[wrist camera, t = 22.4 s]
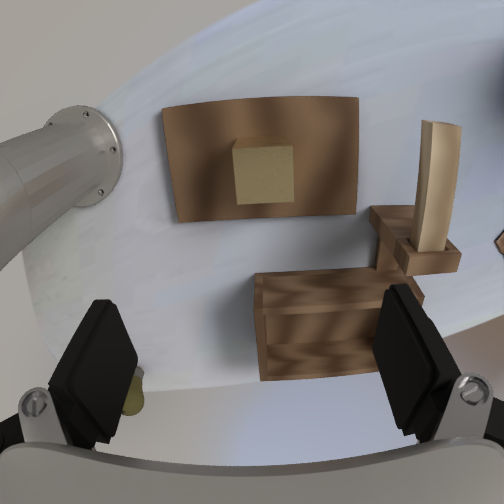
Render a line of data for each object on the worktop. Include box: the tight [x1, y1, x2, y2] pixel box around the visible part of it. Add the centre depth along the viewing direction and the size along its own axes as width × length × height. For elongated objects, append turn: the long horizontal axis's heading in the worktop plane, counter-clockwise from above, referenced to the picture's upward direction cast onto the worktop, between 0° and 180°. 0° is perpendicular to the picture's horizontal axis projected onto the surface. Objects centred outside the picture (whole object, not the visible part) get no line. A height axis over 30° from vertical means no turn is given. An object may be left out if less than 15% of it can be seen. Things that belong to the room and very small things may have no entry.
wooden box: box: [254, 205, 462, 381], centre depth 35 cm, size 20×22×12 cm
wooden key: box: [409, 120, 462, 252], centre depth 24 cm, size 3×14×2 cm, turn 4°
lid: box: [162, 96, 359, 223], centre depth 30 cm, size 20×13×8 cm, turn 94°
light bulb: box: [121, 367, 144, 416], centre depth 47 cm, size 6×6×10 cm
